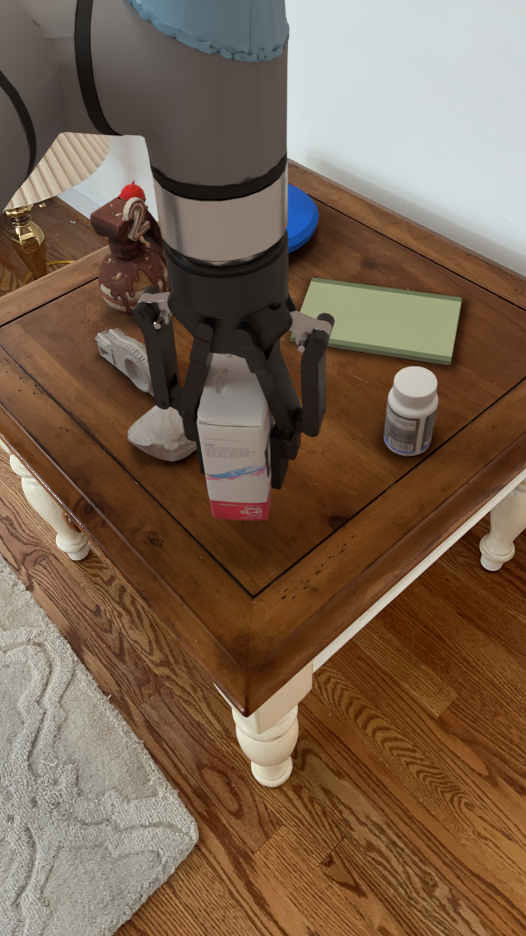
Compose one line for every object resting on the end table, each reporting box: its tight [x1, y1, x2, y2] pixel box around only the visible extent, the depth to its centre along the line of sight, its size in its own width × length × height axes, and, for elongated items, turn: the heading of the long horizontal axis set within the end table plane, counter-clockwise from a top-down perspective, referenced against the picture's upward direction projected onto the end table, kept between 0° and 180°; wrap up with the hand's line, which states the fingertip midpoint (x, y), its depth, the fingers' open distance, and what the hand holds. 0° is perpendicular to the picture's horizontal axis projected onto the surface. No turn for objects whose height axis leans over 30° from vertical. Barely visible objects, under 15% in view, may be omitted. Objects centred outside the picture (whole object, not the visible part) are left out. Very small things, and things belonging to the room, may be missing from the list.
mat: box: [290, 277, 463, 366], centre depth 86 cm, size 18×11×1 cm, turn 75°
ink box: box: [197, 353, 275, 521], centre depth 59 cm, size 9×5×12 cm, turn 173°
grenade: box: [89, 179, 170, 317], centre depth 84 cm, size 9×8×15 cm
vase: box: [286, 183, 320, 254], centre depth 95 cm, size 16×16×7 cm
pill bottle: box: [383, 365, 439, 457], centre depth 72 cm, size 5×5×8 cm
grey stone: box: [127, 405, 197, 462], centre depth 75 cm, size 9×8×5 cm
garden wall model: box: [94, 328, 154, 398], centre depth 80 cm, size 12×2×6 cm, turn 44°
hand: (244, 468), depth 62 cm, fingers closed on ink box, 5 cm apart
